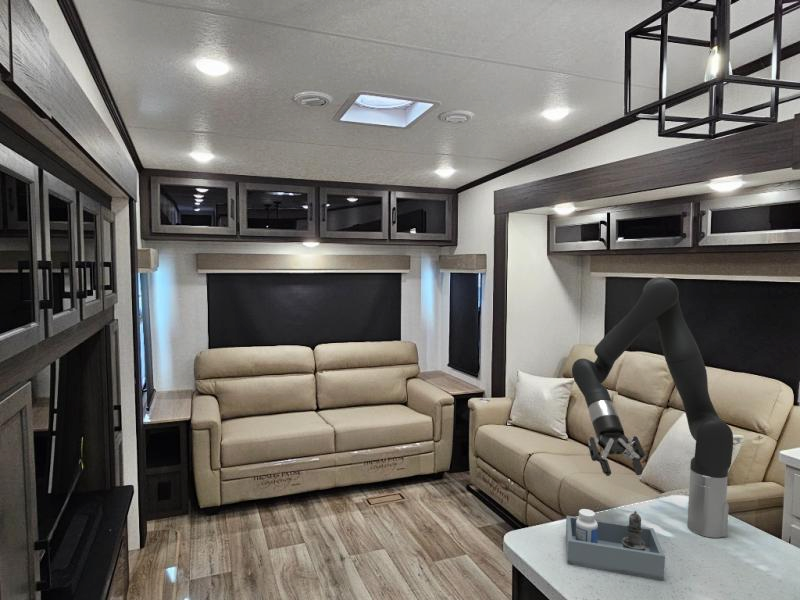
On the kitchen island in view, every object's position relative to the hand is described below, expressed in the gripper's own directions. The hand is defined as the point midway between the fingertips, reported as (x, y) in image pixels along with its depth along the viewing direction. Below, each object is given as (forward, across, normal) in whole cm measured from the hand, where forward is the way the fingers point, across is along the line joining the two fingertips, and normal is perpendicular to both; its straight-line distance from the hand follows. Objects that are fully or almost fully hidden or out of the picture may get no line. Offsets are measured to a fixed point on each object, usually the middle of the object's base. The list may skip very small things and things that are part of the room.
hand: (624, 474), depth 136 cm
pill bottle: (+15, -11, +12) cm, 22 cm away
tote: (+17, -6, +11) cm, 21 cm away
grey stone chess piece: (+18, 0, +9) cm, 20 cm away
